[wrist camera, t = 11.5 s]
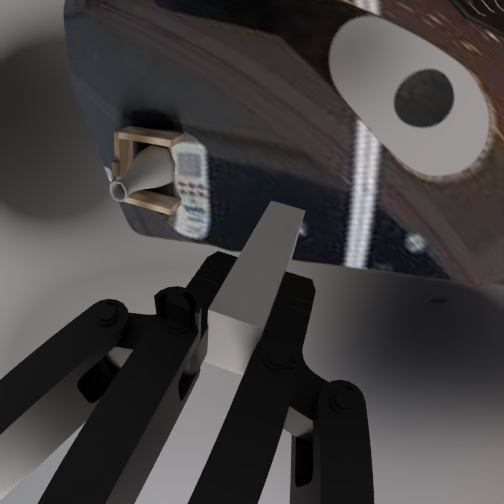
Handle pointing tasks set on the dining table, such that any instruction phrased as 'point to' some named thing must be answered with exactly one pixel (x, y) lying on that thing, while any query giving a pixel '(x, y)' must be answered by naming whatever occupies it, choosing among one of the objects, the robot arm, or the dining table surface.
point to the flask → (145, 173)
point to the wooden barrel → (483, 13)
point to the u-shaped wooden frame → (125, 160)
